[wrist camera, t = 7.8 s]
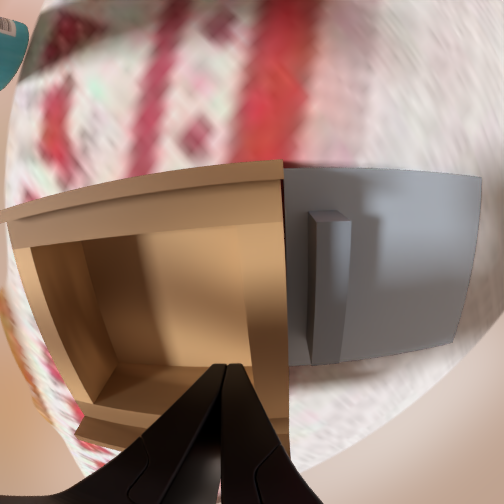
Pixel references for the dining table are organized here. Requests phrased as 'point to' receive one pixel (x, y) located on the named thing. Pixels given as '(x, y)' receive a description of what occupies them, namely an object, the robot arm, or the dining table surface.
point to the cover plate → (376, 260)
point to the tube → (11, 48)
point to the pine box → (158, 290)
